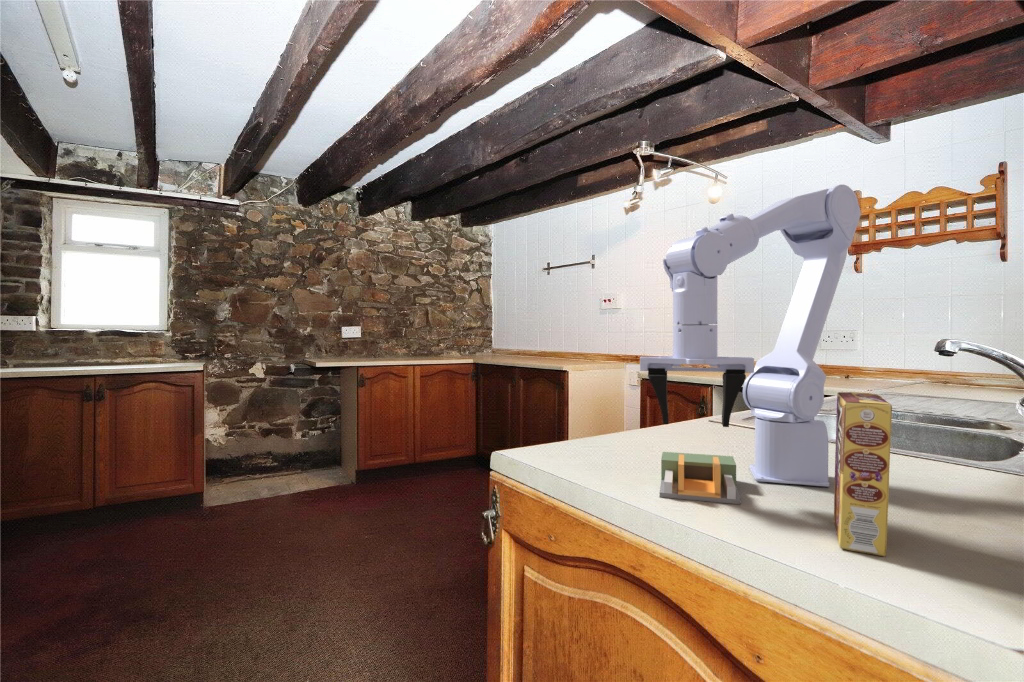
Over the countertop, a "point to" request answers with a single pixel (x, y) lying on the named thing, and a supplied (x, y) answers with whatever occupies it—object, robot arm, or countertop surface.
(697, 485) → the chute
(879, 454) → the candy box
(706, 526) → the countertop surface
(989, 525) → the countertop surface
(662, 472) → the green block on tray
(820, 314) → the robot arm
